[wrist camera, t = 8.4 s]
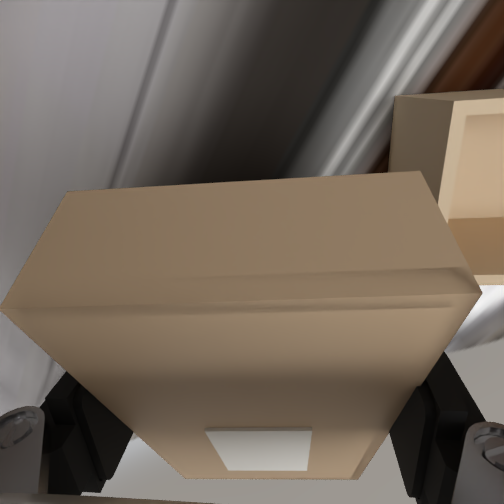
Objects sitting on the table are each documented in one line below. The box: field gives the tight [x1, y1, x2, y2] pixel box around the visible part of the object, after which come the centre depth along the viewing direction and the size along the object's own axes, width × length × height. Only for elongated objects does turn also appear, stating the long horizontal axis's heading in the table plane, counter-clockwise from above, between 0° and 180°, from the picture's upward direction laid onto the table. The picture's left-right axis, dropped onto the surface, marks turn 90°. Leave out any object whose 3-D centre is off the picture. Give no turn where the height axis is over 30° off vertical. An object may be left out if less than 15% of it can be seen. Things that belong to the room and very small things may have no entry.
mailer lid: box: [0, 171, 482, 480], centre depth 11 cm, size 13×7×3 cm, turn 4°
